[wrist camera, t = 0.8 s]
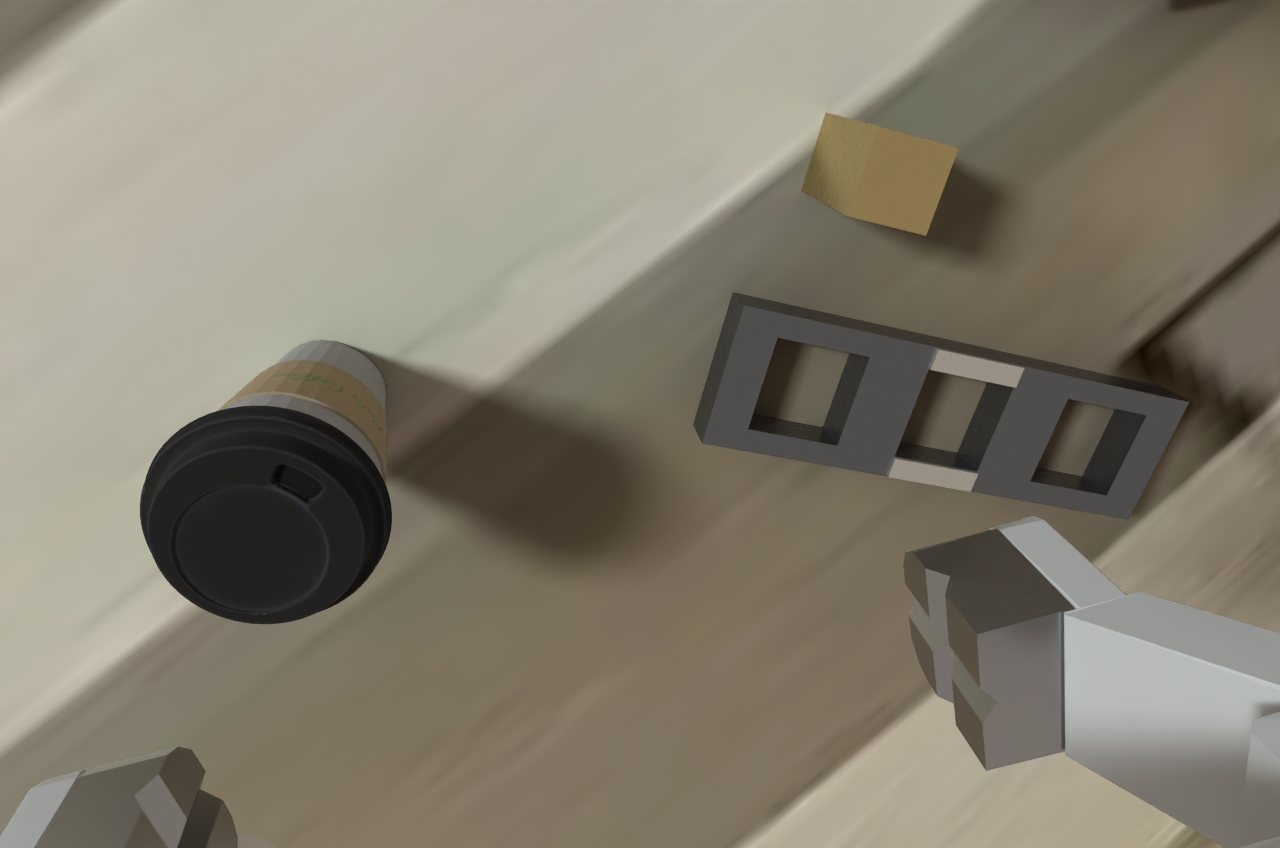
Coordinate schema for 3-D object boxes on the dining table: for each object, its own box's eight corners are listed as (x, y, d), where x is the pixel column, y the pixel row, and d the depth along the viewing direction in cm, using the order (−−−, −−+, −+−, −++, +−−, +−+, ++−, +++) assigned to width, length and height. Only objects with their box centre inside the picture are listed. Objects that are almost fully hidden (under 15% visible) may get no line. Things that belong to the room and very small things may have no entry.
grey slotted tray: (732, 292, 48) (745, 306, 46) (1160, 386, 55) (1191, 403, 52) (693, 424, 51) (702, 445, 49) (1104, 500, 58) (1130, 521, 55)
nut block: (825, 112, 45) (877, 126, 39) (896, 131, 46) (958, 148, 40) (801, 190, 47) (847, 216, 40) (870, 208, 48) (926, 235, 41)
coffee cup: (426, 321, 47) (394, 441, 33) (411, 480, 50) (377, 648, 37) (234, 296, 45) (118, 412, 31) (233, 463, 48) (128, 633, 35)
